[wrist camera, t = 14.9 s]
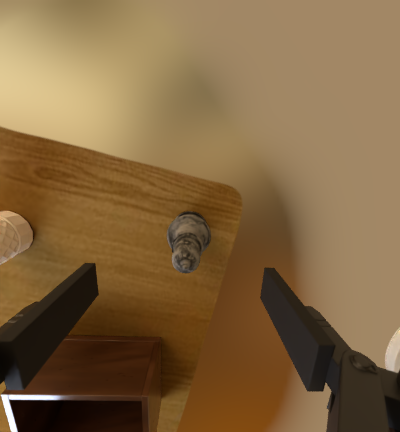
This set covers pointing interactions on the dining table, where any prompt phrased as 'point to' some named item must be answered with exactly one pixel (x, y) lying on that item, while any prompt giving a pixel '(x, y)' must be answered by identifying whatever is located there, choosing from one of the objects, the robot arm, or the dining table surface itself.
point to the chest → (92, 388)
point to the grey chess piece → (188, 240)
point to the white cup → (13, 235)
